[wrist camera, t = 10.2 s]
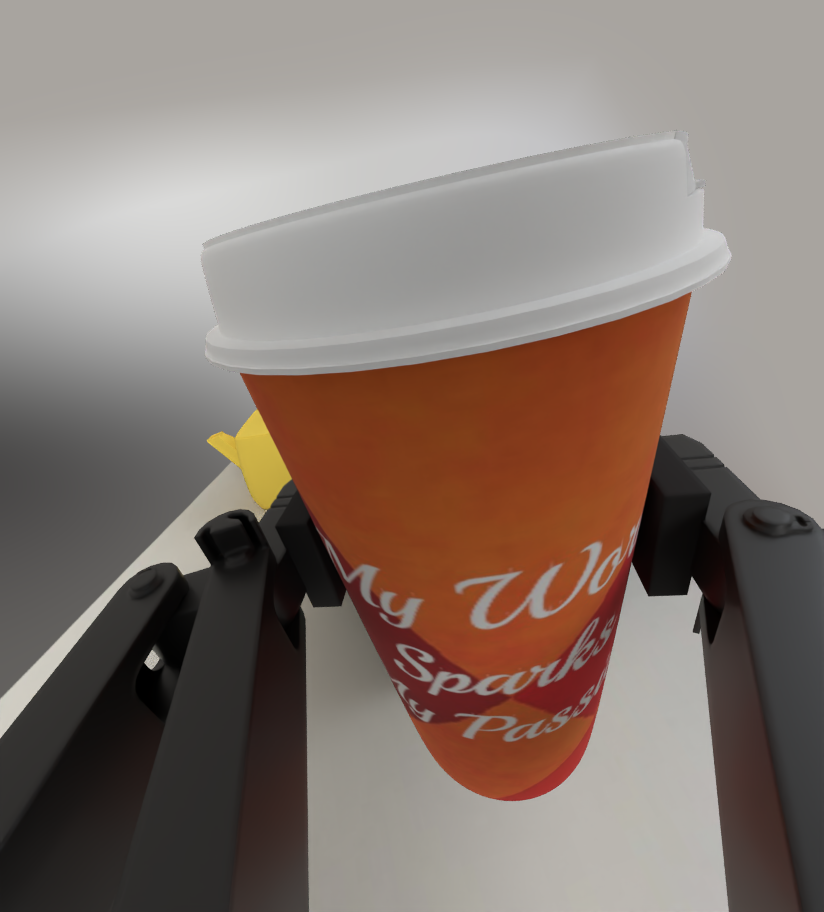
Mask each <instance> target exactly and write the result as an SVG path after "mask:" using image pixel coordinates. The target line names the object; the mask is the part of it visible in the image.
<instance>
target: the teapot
mask: <svg viewBox="0 0 824 912" xmlns="http://www.w3.org/2000/svg"><path fill="white" fill-rule="evenodd" d="M207 442H208V443H209V444H211V445H212V446H213V447H214V448H216V449H217V450H218V451H219V452H221V453H222V454H223V455H224V456H226V457H227V458H228V459H229V460H231V461H232V462H233V463H234V464H236V465H237V466H238V467H239V468H241V470H242V473H243V476H244V479H245V482H246V484H247V487H248V489H249V492H250V494H251V496H252V498H253V499H254V500H255V501H256V503H257V504H258V505H259V506H260V507H261V508H263V509H269V508H270V506H271V504H272V503H273V501H274V500H275V499H276V497H277V495H278V494H279V492H280V490H281V489H282V487H283V486H284V485H285V484H286V483H288V482H289V481H290V480H291V479H292V478H291V476H290V474H289V472H288V470H287V468H286V466H285V464H284V462H283V460H282V458H281V456H280V454H279V451H278V449H277V447H276V445H275V443H274V441H273V439H272V437H271V435H270V433H269V431H268V429H267V427H266V425H265V423H264V421H263V419H262V417H261V415H260V413H259V411H258V409H257V410H256V411H255V412H254V413H253V414H252V415H251V416H250V418H249V419H248V420H247V421H246V423H245V424H244V425H243V426H242V428H241V429H240V431H239V432H238V433H237V435H236V437H235V438H234V437H232V436H230V435H227V434H225V433H224V432H223V431H222V432H219V433H217V434H215V435H212V436H211V437H210V438H209V439H208V440H207Z"/></svg>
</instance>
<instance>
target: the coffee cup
mask: <svg viewBox="0 0 824 912" xmlns="http://www.w3.org/2000/svg"><path fill="white" fill-rule="evenodd" d="M688 137H689V134H688V133H687V132H684V131H678V130H675V131H667V132H660V133H654V134H647V135H641V136H634V137H628V138H623V139H617V140H612V141H606V142H601V143H595V144H590V145H584V146H579V147H574V148H569V149H565V150H559V151H554V152H550V153H545V154H540V155H535V156H530V157H525V158H520V159H516V160H511V161H507V162H502V163H498V164H493V165H489V166H484V167H480V168H475V169H470V170H466V171H461V172H457V173H452V174H449V175H444V176H440V177H435V178H431V179H427V180H423V181H418V182H414V183H410V184H406V185H401V186H398V187H393V188H389V189H385V190H381V191H377V192H373V193H369V194H365V195H361V196H357V197H353V198H349V199H345V200H341V201H337V202H334V203H329V204H326V205H322V206H318V207H315V208H311V209H307V210H304V211H300V212H296V213H292V214H288V215H285V216H282V217H278V218H274V219H271V220H268V221H264V222H261V223H257V224H254V225H250V226H248V227H245V228H241V229H238V230H235V231H232V232H229V233H226V234H223V235H220V236H218V237H215V238H213V239H210V240H208V241H207V242H205V243H203V246H204V248H205V250H204V251H203V252H202V254H201V261H202V267H203V271H204V275H205V279H206V282H207V286H208V290H209V294H210V297H211V301H212V305H213V308H214V312H215V315H216V319H217V322H218V325H217V326H215V327H213V328H212V329H211V330H210V331H209V332H208V333H207V334H206V349H205V356H206V358H207V360H208V361H209V362H210V363H211V364H212V365H213V366H215V367H218V368H221V369H224V370H227V371H230V372H237V373H240V374H241V376H242V378H243V380H244V383H245V384H246V386H247V389H248V390H249V393H250V395H251V397H252V399H253V401H254V403H255V405H256V407H257V409H258V411H259V413H260V415H261V417H262V419H263V421H264V423H265V425H266V427H267V429H268V431H269V433H270V435H271V437H272V439H273V441H274V443H275V445H276V447H277V449H278V451H279V454H280V456H281V458H282V460H283V462H284V464H285V466H286V468H287V470H288V472H289V474H290V476H291V478H292V480H293V482H294V484H295V486H296V488H297V490H298V492H299V494H300V496H301V498H302V500H303V502H304V504H305V506H306V508H307V510H308V512H309V514H310V516H311V518H312V520H313V522H314V525H315V527H316V529H317V531H318V533H319V535H320V537H321V539H322V541H323V543H324V545H325V547H326V549H327V551H328V553H329V555H330V557H331V559H332V561H333V563H334V565H335V567H336V569H337V571H338V573H339V575H340V577H341V579H342V581H343V583H344V586H345V588H346V590H347V592H348V594H349V596H350V598H351V600H352V602H353V604H354V606H355V608H356V610H357V612H358V614H359V616H360V618H361V620H362V622H363V624H364V626H365V628H366V630H367V632H368V634H369V636H370V638H371V640H372V642H373V644H374V646H375V648H376V650H377V652H378V654H379V656H380V658H381V660H382V662H383V664H384V666H385V668H386V670H387V672H388V674H389V676H390V678H391V680H392V682H393V684H394V686H395V688H396V690H397V692H398V694H399V696H400V698H401V700H402V702H403V704H404V706H405V708H406V710H407V712H408V714H409V716H410V718H411V720H412V722H413V723H414V725H415V727H416V729H417V731H418V733H419V734H420V736H421V738H422V740H423V742H424V743H425V745H426V747H427V748H428V750H429V751H430V753H431V754H432V756H433V757H434V759H435V760H436V761H437V763H438V764H439V765H440V766H441V767H442V768H443V769H444V771H445V772H446V773H447V774H449V775H450V776H451V777H452V778H453V779H454V780H455V781H457V782H458V783H459V784H461V785H462V786H464V787H465V788H467V789H469V790H471V791H473V792H475V793H477V794H479V795H482V796H485V797H488V798H492V799H497V800H504V801H520V800H527V799H532V798H535V797H538V796H541V795H543V794H546V793H547V792H549V791H551V790H553V789H554V788H556V787H557V786H559V785H560V784H561V783H562V782H564V781H565V780H566V779H567V778H568V777H569V776H570V774H571V773H572V772H573V771H574V769H575V768H576V767H577V765H578V763H579V762H580V760H581V758H582V756H583V755H584V752H585V750H586V747H587V745H588V742H589V739H590V736H591V733H592V729H593V725H594V722H595V718H596V714H597V711H598V707H599V703H600V698H601V694H602V690H603V686H604V681H605V677H606V673H607V669H608V665H609V660H610V656H611V651H612V647H613V643H614V638H615V634H616V629H617V625H618V621H619V616H620V612H621V607H622V603H623V599H624V594H625V590H626V585H627V581H628V576H629V572H630V567H631V562H632V558H633V553H634V549H635V544H636V540H637V535H638V531H639V526H640V522H641V517H642V513H643V508H644V504H645V499H646V495H647V490H648V486H649V481H650V477H651V472H652V468H653V463H654V459H655V454H656V450H657V445H658V441H659V436H660V432H661V427H662V422H663V418H664V414H665V410H666V405H667V401H668V396H669V391H670V387H671V382H672V378H673V373H674V369H675V364H676V360H677V356H678V351H679V347H680V342H681V338H682V333H683V329H684V324H685V320H686V315H687V311H688V306H689V302H690V297H691V293H692V291H694V290H696V289H698V288H701V287H703V286H705V285H706V284H708V283H709V282H710V281H712V280H713V279H715V278H716V277H718V276H719V275H720V274H722V273H723V272H725V270H726V268H727V267H728V265H729V263H730V261H731V258H732V254H731V252H730V250H729V248H728V245H727V242H726V239H725V237H724V235H723V234H722V233H721V232H718V231H715V230H712V229H708V228H703V221H704V220H703V219H704V190H703V189H702V188H699V187H704V186H706V181H705V180H695V179H694V174H693V169H692V165H691V160H690V155H689V150H688Z"/></svg>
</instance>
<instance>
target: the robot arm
mask: <svg viewBox="0 0 824 912" xmlns="http://www.w3.org/2000/svg"><path fill="white" fill-rule="evenodd" d="M194 538H195V540H196V541H197V543H198V545H199V546H200V548H201V549H202V551H203V553H204V554H205V556H206V557H207V559H208V561H209V562H210V564H211V566H210V567H209V568H206V569H203V570H199V571H196V572H193V573H190V574H186V575H182V573H181V572H180V570H179V569H178V567H177V566H176V565H174V564H172V563H160V564H156V565H153V566H150V567H148V568H146V569H143V570H141V571H140V572H138V573H137V574H136V575H134V576H133V577H132V578H130V579H129V580H128V581H127V582H126V583H125V584H124V585H123V586H122V587H121V588H120V589H119V590H118V591H117V593H116V594H115V595H114V596H113V598H112V599H111V600H110V601H109V603H108V604H107V605H106V607H105V608H104V609H103V610H102V612H101V613H100V614H99V615H98V617H97V618H96V619H95V620H94V622H93V623H92V624H91V625H90V627H89V628H88V629H87V630H86V632H85V633H84V634H83V635H82V637H81V638H80V639H79V640H78V642H77V643H76V644H75V645H74V647H73V648H72V649H71V651H70V652H69V653H68V654H67V656H66V657H65V658H64V659H63V661H62V662H61V663H60V664H59V666H58V667H57V668H56V669H55V671H54V672H53V673H52V674H51V676H50V677H49V678H48V679H47V681H46V682H45V683H44V684H43V686H42V687H41V688H40V689H39V691H38V692H37V693H36V695H35V696H34V697H33V698H32V700H31V701H30V702H29V703H28V705H27V706H26V707H25V708H24V710H23V711H22V712H21V713H20V715H19V716H18V717H17V718H16V720H15V721H14V722H13V723H12V725H11V726H10V727H9V728H8V730H7V731H6V732H5V733H4V735H3V736H2V737H1V738H0V912H309V888H308V800H307V713H306V625H305V616H304V612H303V611H302V609H301V607H300V606H301V603H302V601H303V599H304V596H305V594H306V593H307V595H308V597H309V599H310V601H311V603H312V605H313V607H335V606H341V605H342V602H343V599H344V596H345V592H346V588H345V586H344V583H343V581H342V579H341V577H340V575H339V573H338V571H337V569H336V567H335V565H334V563H333V561H332V559H331V557H330V555H329V553H328V551H327V549H326V547H325V545H324V543H323V541H322V539H321V537H320V535H319V533H318V531H317V529H316V527H315V525H314V522H313V520H312V518H311V516H310V514H309V512H308V510H307V508H306V506H305V504H304V502H303V500H302V498H301V496H300V494H299V492H298V490H297V488H296V486H295V484H294V482H293V480H292V479H291V480H290V481H289V482H288V483H286V484H285V485H284V486H283V487H282V489H281V490H280V492H279V494H278V495H277V497H276V499H275V500H274V501H273V503H272V504H271V506H270V508H269V509H268V510H267V512H266V513H265V515H264V516H263V518H262V519H261V521H260V522H259V523H258V521H257V519H256V517H255V515H254V513H252V512H251V511H249V510H242V509H239V510H234V511H229V512H227V513H224V514H222V515H219V516H217V517H216V518H214V519H212V520H211V521H209V522H207V523H206V524H205V525H204V526H203V527H202V528H201V529H200V530H199V531H198V533H197V534H196V536H195V537H194ZM632 563H633V566H634V568H635V570H636V572H637V574H638V576H639V578H640V580H641V582H642V584H643V586H644V588H645V590H646V592H647V594H648V596H672V595H687V593H688V589H689V585H690V581H691V577H693V578H694V580H695V582H696V583H697V585H698V586H699V588H700V590H701V591H702V593H703V594H702V598H701V601H700V605H699V609H698V613H697V616H696V620H695V624H694V628H693V632H694V633H698V634H699V632H700V629H701V634H702V644H703V655H704V665H705V675H706V685H707V695H708V705H709V715H710V725H711V735H712V745H713V755H714V765H715V775H716V785H717V795H718V805H719V816H720V826H721V836H722V846H723V856H724V866H725V876H726V886H727V896H728V906H729V912H824V529H821V528H820V527H819V525H818V524H817V523H816V522H815V521H814V520H813V518H811V517H809V516H808V515H806V514H804V513H803V512H801V511H800V510H798V509H795V508H792V507H790V506H787V505H785V504H782V503H777V502H772V501H767V500H760V499H759V498H758V497H757V496H756V495H755V494H754V493H753V492H752V491H751V490H750V489H749V488H748V487H747V486H746V485H745V484H744V483H743V482H742V481H741V480H740V479H738V478H737V476H736V475H734V474H733V473H732V472H731V471H730V470H729V469H728V468H727V467H724V464H723V463H722V462H721V461H720V460H719V459H718V458H717V457H714V454H712V452H711V451H709V450H708V449H707V448H706V447H705V446H704V445H703V444H702V443H700V442H698V441H696V440H694V439H692V438H690V437H687V436H685V435H683V434H679V435H670V436H659V441H658V445H657V450H656V454H655V459H654V463H653V468H652V472H651V477H650V481H649V486H648V490H647V495H646V499H645V504H644V508H643V513H642V517H641V522H640V526H639V531H638V535H637V540H636V544H635V549H634V553H633V558H632ZM151 650H153V651H154V652H155V653H156V654H157V655H158V657H159V658H160V659H159V661H158V663H157V664H156V666H155V667H154V668H153V669H152V670H151V669H149V668H148V667H147V666H146V664H145V663H144V662H145V660H146V658H147V657H148V655H149V653H150V652H151Z"/></svg>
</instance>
